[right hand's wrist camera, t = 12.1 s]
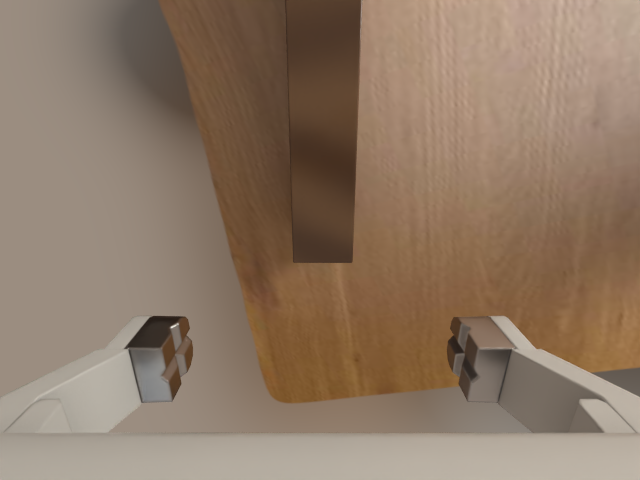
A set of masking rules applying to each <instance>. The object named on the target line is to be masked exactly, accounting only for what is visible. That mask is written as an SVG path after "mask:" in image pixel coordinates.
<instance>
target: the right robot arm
mask: <svg viewBox="0 0 640 480" xmlns="http://www.w3.org/2000/svg"><path fill="white" fill-rule="evenodd" d="M189 329H190V327H189V322H188V319H187V318H186V317H179V316H136V317H133V318H132V319H131V320H130V321H129V322H128V323H127V324H126V326H125V327H124V328H123V329H122V330H121V331H120V332H119V333H118V334H117V335H116V336H115V337H114V339H113V340H112V341H111V342H110V343H109V344H108V345H107V346H106V347H105V349H98V350H96V351H94V352H92V353H90V354H88V355H86V356H83V357H81V358H79V359H77V360H75V361H73V362H71V363H69V364H67V365H65V366H63V367H61V368H59V369H57V370H55V371H53V372H51V373H49V374H47V375H44V376H42V377H40V378H38V379H36V380H34V381H32V382H30V383H28V384H26V385H24V386H22V387H20V388H18V389H16V390H14V391H12V392H10V393H7V394H5V395H4V396H1V397H0V480H640V397H638V396H636V395H634V394H632V393H630V392H628V391H626V390H624V389H622V388H620V387H618V386H616V385H614V384H612V383H610V382H608V381H606V380H603V379H602V378H599V377H597V376H595V375H593V374H591V373H589V372H587V371H585V370H583V369H581V368H579V367H577V366H575V365H573V364H571V363H569V362H567V361H565V360H563V359H561V358H559V357H556V356H554V355H552V354H550V353H548V352H546V351H544V350H542V349H536V348H535V347H534V346H533V345H532V344H531V343H530V342H529V341H528V340H527V339H526V337H525V336H524V335H523V334H522V333H521V332H520V331H519V330H518V329H517V328H516V326H515V325H514V324H513V323H512V322H511V321H510V320H509V319H508V318H507V317H505V316H485V317H453V319H452V321H451V327H450V329H451V331H452V333H453V334H454V335H453V336H452V337H451V339H450V340H449V341H448V346H447V355H448V362H449V365H450V367H451V370H452V372H453V373H454V374H456V375H457V376H459V377H460V379H459V385H460V387H461V389H462V391H463V393H464V395H465V397H466V399H467V401H468V402H494V403H498V404H499V405H500V406H501V407H502V408H504V409H505V410H506V411H507V412H509V413H510V414H511V415H512V416H513V417H515V418H516V419H517V420H518V421H519V422H521V423H522V424H523V425H524V426H525V427H527V428H528V429H529V430H530V431H532V432H533V433H107V432H108V431H110V430H111V429H112V428H113V427H115V426H116V425H117V424H118V423H119V422H121V421H122V420H123V419H124V418H126V417H127V416H128V415H129V414H130V413H131V412H133V411H134V410H135V409H136V408H138V407H139V406H140V405H141V403H147V402H172V401H173V399H174V397H175V395H176V393H177V391H178V389H179V387H180V385H181V379H180V377H181V376H183V375H184V374H185V373H187V372H188V369H189V367H190V365H191V361H192V357H193V346H192V341H191V340H190V339H189V337H188V336H187V335H186V334H187V333H188V331H189Z"/></svg>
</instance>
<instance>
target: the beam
mask: <svg viewBox="0 0 640 480" xmlns="http://www.w3.org/2000/svg"><path fill="white" fill-rule="evenodd" d="M285 4H286V37H287V70H288V103H289V136H290V169H291V203H292V236H293V262H294V263H352V258H353V232H354V206H355V180H356V154H357V127H358V101H359V75H360V49H361V23H362V0H285Z"/></svg>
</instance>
